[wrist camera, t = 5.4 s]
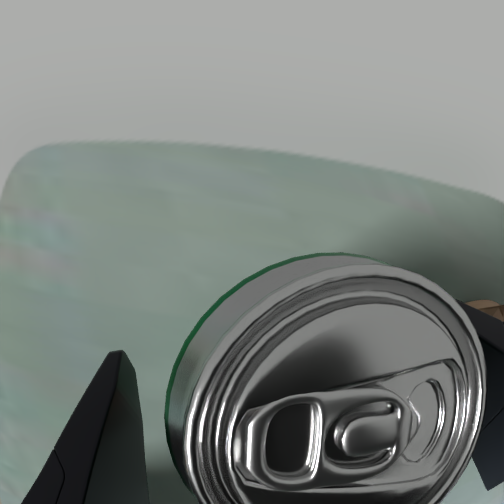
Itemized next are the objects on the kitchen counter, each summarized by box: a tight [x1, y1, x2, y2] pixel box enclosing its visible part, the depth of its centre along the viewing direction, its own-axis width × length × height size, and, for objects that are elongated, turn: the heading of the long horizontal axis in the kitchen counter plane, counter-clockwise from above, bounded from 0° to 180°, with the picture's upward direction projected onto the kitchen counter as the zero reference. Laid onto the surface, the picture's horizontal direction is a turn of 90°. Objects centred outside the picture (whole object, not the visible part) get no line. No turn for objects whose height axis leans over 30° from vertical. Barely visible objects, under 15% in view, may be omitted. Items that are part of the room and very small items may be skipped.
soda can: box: [164, 252, 488, 504], centre depth 9 cm, size 5×5×12 cm
